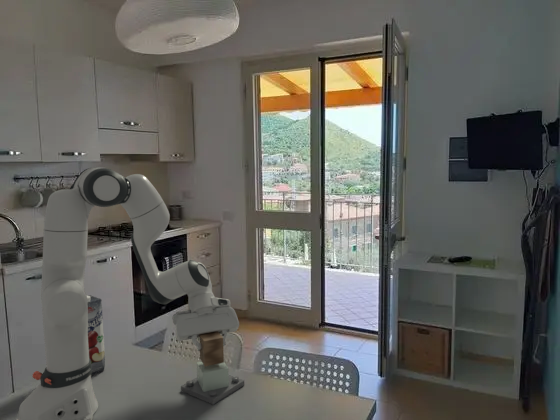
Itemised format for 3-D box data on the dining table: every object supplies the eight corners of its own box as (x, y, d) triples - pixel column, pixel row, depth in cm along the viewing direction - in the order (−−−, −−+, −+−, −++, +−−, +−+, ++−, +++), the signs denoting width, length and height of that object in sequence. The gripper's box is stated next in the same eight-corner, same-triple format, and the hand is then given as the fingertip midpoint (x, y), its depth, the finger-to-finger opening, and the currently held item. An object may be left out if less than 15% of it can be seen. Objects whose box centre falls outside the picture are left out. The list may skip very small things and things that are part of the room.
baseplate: (213, 404, 129) (212, 380, 128) (180, 390, 137) (180, 367, 137) (244, 384, 140) (243, 362, 140) (212, 373, 149) (212, 351, 148)
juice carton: (66, 374, 149) (60, 297, 147) (95, 363, 157) (91, 289, 155) (78, 382, 144) (73, 302, 141) (108, 370, 152) (104, 294, 149)
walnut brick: (204, 366, 134) (203, 341, 133) (200, 358, 140) (199, 334, 139) (223, 362, 136) (223, 337, 136) (218, 355, 142) (217, 331, 141)
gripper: (172, 308, 138) (179, 349, 131) (234, 299, 147) (244, 338, 139) (170, 317, 143) (177, 358, 135) (230, 308, 151) (240, 346, 143)
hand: (212, 347), depth 137 cm, fingers closed on walnut brick, 6 cm apart
